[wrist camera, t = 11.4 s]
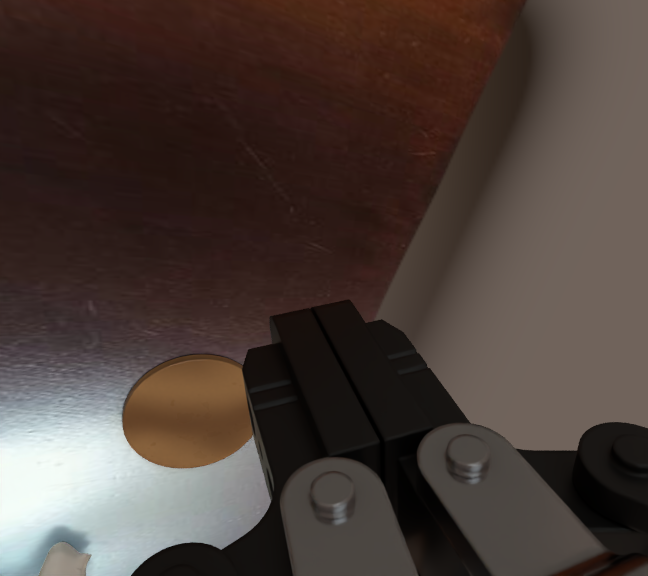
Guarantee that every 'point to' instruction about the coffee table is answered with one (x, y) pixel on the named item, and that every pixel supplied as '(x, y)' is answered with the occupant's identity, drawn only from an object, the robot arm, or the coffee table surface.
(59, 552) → the figurine
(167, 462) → the coaster
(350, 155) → the coffee table surface
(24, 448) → the coffee table surface
